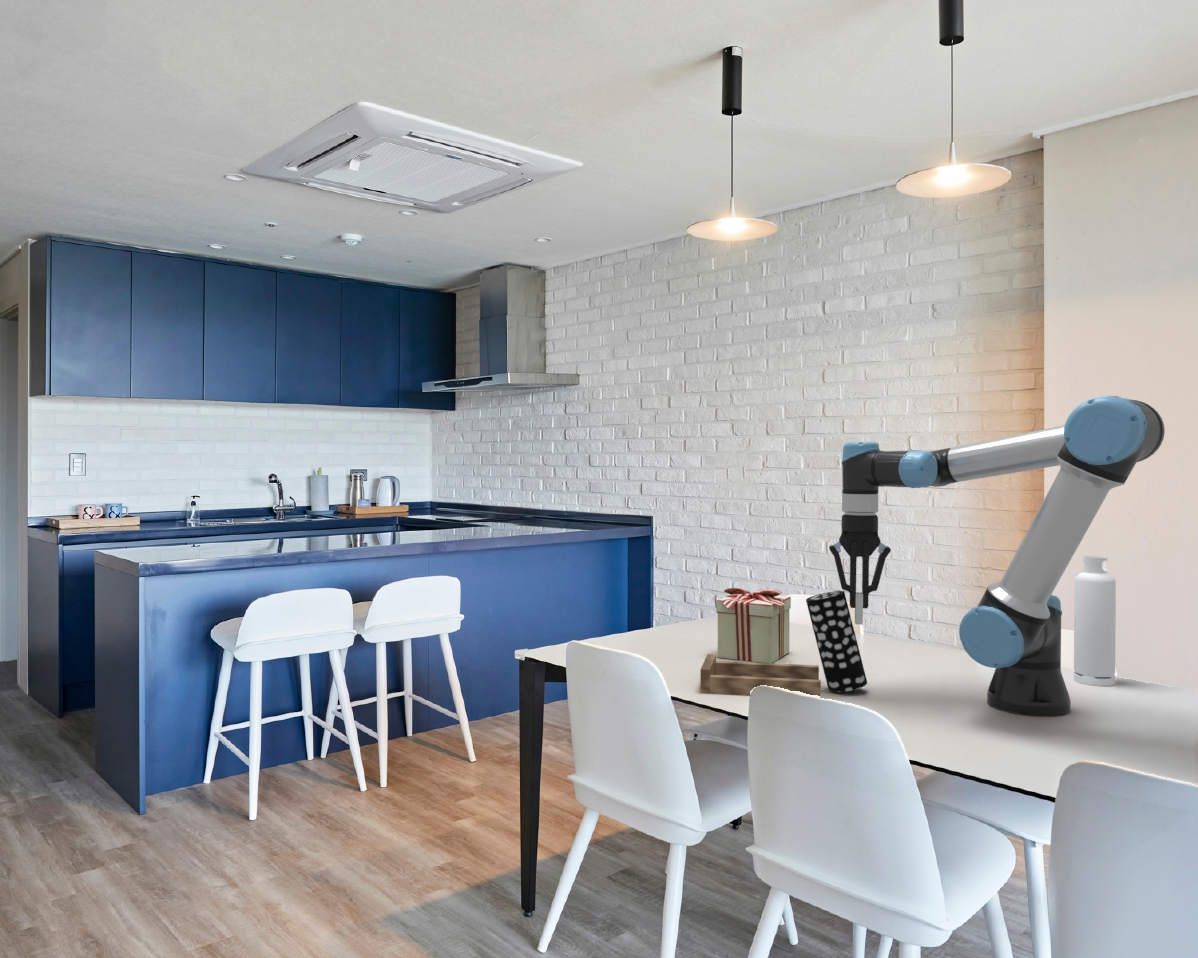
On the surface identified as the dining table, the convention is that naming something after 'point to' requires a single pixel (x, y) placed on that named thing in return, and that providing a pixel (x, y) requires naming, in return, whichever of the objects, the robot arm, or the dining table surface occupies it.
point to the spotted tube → (836, 641)
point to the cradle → (757, 677)
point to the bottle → (1094, 624)
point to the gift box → (753, 625)
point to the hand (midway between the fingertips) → (858, 623)
